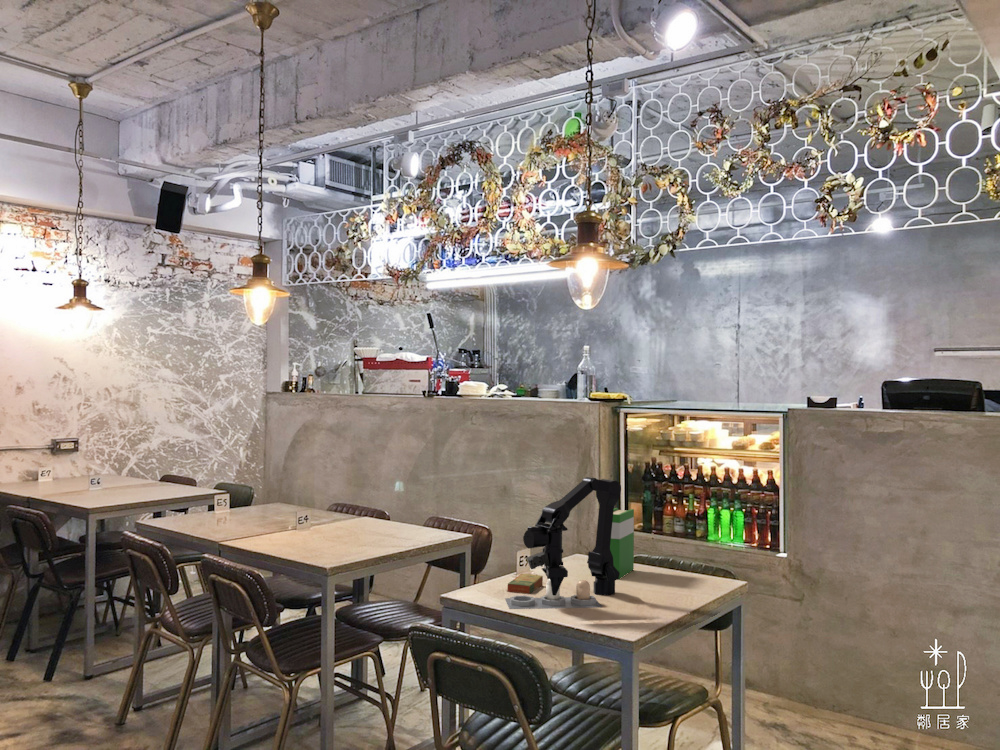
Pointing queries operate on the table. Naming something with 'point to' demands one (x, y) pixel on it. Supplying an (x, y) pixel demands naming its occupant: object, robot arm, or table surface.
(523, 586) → the carton
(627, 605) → the table surface
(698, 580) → the table surface
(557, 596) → the cream egg
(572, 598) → the egg stand
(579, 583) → the brown egg
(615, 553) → the hardback book
